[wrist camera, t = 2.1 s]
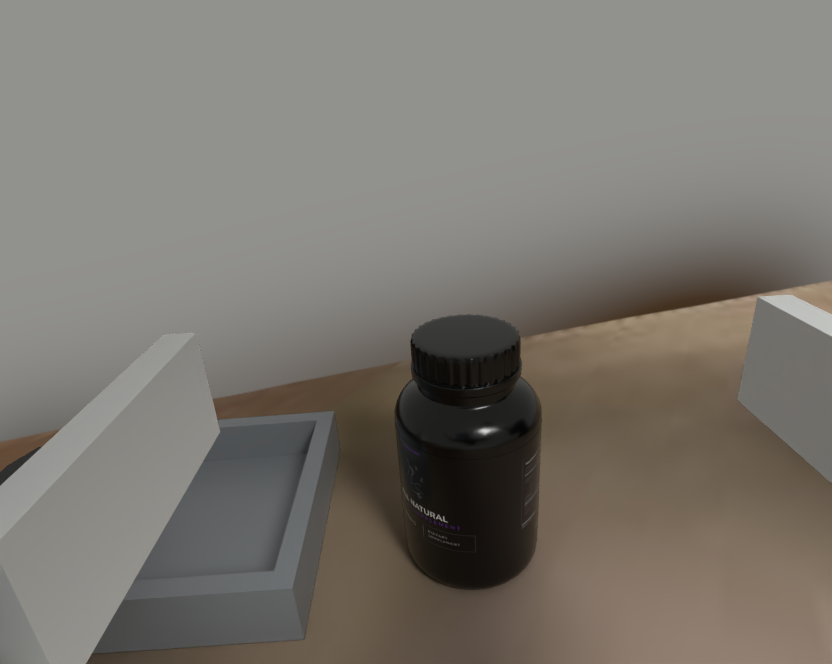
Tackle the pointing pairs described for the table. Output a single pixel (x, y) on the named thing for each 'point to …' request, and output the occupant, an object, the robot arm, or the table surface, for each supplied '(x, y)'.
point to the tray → (237, 541)
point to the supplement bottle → (469, 452)
